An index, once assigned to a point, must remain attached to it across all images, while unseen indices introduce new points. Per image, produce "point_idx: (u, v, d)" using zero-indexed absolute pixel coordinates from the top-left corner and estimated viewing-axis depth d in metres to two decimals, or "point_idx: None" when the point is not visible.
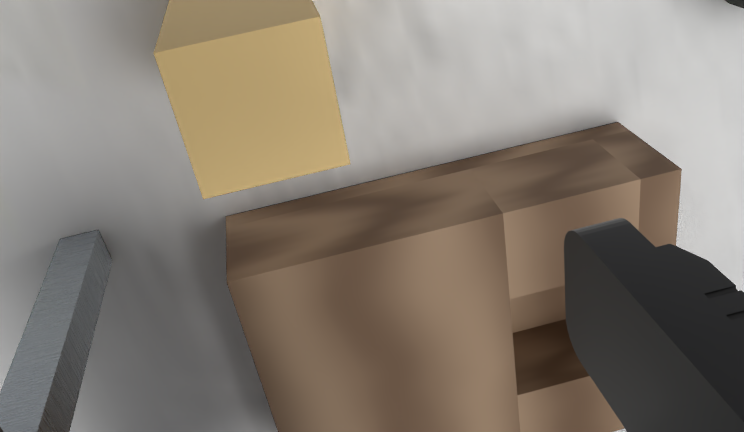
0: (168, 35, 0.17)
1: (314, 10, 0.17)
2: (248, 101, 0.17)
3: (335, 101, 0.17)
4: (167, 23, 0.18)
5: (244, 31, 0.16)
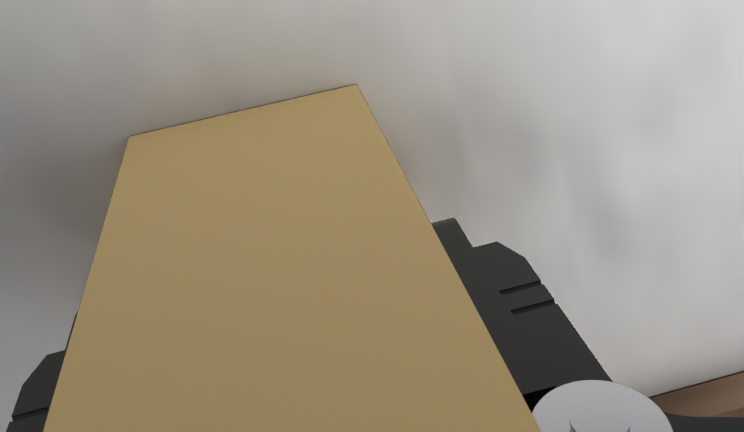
0: None
1: None
2: None
3: None
4: None
5: None
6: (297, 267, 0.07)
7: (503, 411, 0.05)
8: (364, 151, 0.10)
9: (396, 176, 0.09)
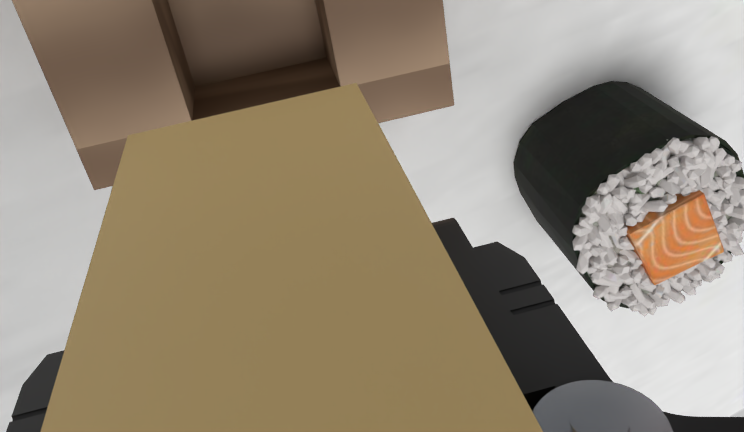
0: None
1: None
2: None
3: None
4: None
5: None
6: (297, 265, 0.07)
7: (504, 412, 0.05)
8: (364, 150, 0.10)
9: (396, 175, 0.09)
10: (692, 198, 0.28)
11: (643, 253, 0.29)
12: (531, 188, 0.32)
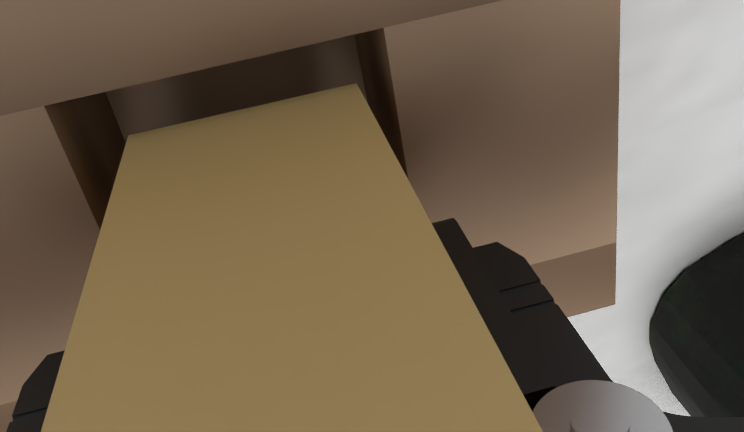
0: None
1: None
2: None
3: None
4: None
5: None
6: (298, 265, 0.07)
7: (504, 411, 0.05)
8: (364, 149, 0.10)
9: (396, 175, 0.09)
10: None
11: None
12: (690, 377, 0.21)
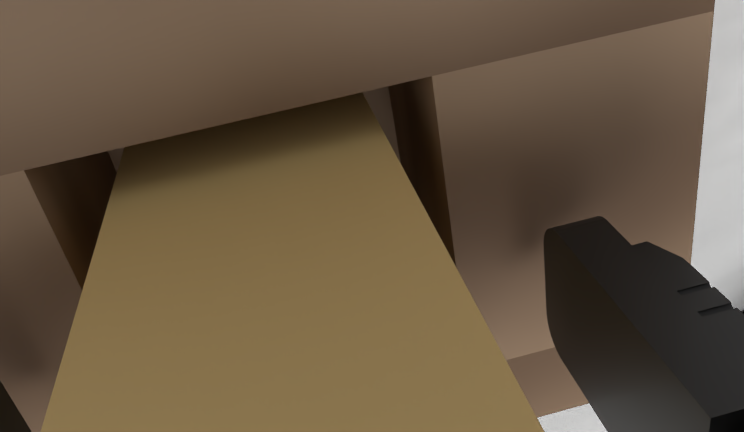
0: None
1: (523, 409, 0.05)
2: None
3: None
4: (76, 358, 0.07)
5: None
6: (286, 201, 0.09)
7: (449, 297, 0.07)
8: (347, 111, 0.11)
9: (374, 130, 0.10)
10: None
11: None
12: None
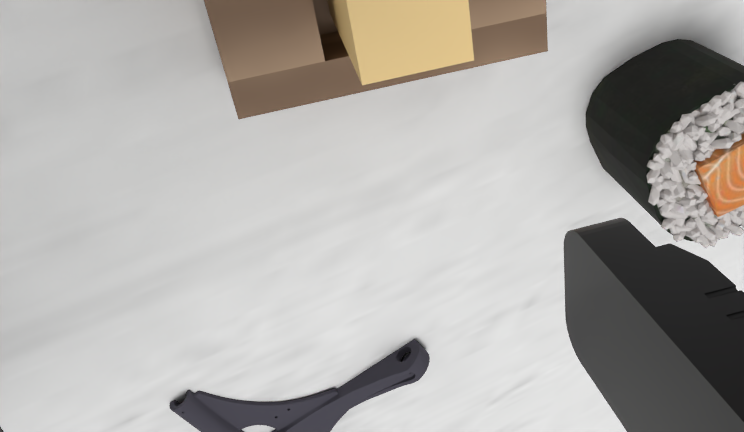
0: None
1: None
2: (403, 6, 0.23)
3: (467, 8, 0.23)
4: None
5: None
6: None
7: None
8: None
9: None
10: None
11: (709, 186, 0.32)
12: (604, 133, 0.36)
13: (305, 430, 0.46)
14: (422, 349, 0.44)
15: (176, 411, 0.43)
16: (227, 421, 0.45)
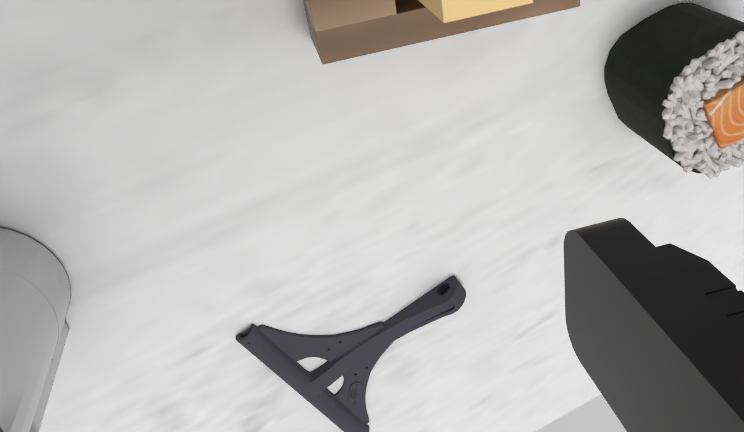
0: None
1: None
2: None
3: None
4: None
5: None
6: None
7: None
8: None
9: None
10: None
11: (714, 121, 0.38)
12: (622, 83, 0.42)
13: (355, 360, 0.51)
14: (459, 284, 0.49)
15: (243, 342, 0.48)
16: (285, 353, 0.50)
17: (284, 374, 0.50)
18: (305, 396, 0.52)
